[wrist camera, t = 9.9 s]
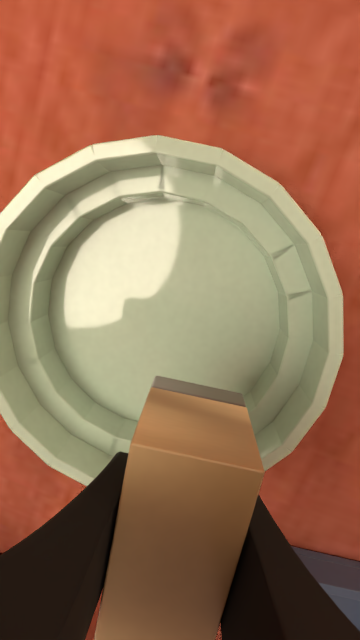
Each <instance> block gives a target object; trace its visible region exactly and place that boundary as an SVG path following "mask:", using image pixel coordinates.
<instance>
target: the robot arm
mask: <svg viewBox="0 0 360 640" xmlns="http://www.w3.org/2000/svg"><path fill="white" fill-rule="evenodd" d="M127 458H128V453H125V452H121V451H120V452H118V453H116V454H115V456H114V457H113V458H112V460H111V461H110V462H109V463H108V465H107V466H106V467H105V468H104V469H103V470H102V471H101V472H100V474H99V475H98V476H97V477H96V478H95V479H94V480H93V481H92V482H91V483H90V484H89V485H88V486H87V487H86V488H85V489H84V490H83V491H82V492H81V493H80V494H79V495H78V496H77V497H75V498H74V499H73V500H72V501H71V502H70V503H69V504H68V505H67V506H65V507H64V508H63V509H62V510H61V511H60V512H59V513H57V514H56V515H55V516H54V517H53V518H51V519H50V520H49V521H48V522H46V523H45V524H44V525H43V526H41V527H40V528H39V529H37V530H36V531H35V532H33V533H32V534H31V535H29V536H28V537H27V538H25V539H24V540H22V541H21V542H19V543H18V544H16V545H15V546H13V547H12V548H11V549H9V550H8V551H6V552H5V553H3V554H2V555H0V640H85V638H86V635H87V632H88V629H89V625H90V623H91V620H92V617H93V614H94V612H95V609H96V606H97V603H98V600H99V598H100V595H101V592H102V589H103V587H104V582H105V576H106V571H107V566H108V560H109V555H110V550H111V544H112V539H113V534H114V528H115V523H116V517H117V512H118V507H119V501H120V496H121V491H122V485H123V480H124V475H125V469H126V464H127ZM220 622H221V633H222V640H360V631H359V630H358V629H357V628H356V626H355V625H354V624H353V623H352V622H351V621H350V620H349V619H348V618H347V616H346V615H345V614H344V613H343V612H342V611H341V610H340V609H339V607H338V606H337V605H336V604H335V603H334V601H333V600H332V599H331V598H330V597H329V595H328V594H327V593H326V592H325V590H324V589H323V588H322V587H321V586H320V584H319V583H318V582H317V581H316V579H315V578H314V577H313V576H312V574H311V573H310V572H309V570H308V569H307V568H306V566H305V565H304V564H303V562H302V561H301V559H300V558H299V557H298V555H297V554H296V553H295V551H294V550H293V548H292V547H291V545H290V544H289V542H288V541H287V539H286V538H285V536H284V535H283V533H282V532H281V530H280V529H279V527H278V526H277V524H276V523H275V521H274V519H273V518H272V516H271V515H270V513H269V511H268V510H267V508H266V506H265V505H264V503H263V501H262V500H261V498H260V496H259V495H258V497H257V500H256V504H255V507H254V510H253V514H252V517H251V520H250V524H249V527H248V531H247V534H246V537H245V541H244V544H243V547H242V551H241V554H240V557H239V561H238V564H237V567H236V571H235V574H234V578H233V581H232V584H231V588H230V591H229V594H228V598H227V601H226V604H225V608H224V611H223V614H222V618H221V621H220Z"/></svg>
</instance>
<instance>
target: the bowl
mask: <svg viewBox="0 0 360 640" xmlns="http://www.w3.org/2000/svg"><path fill="white" fill-rule="evenodd" d="M343 353H344V346H343V292H342V289H341V286H340V284H339V281H338V278H337V275H336V272H335V270H334V267H333V264H332V261H331V258H330V256H329V253H328V250H327V247H326V244H325V242H324V239H323V236H322V235H321V233H320V232H319V230H318V229H317V228H316V227H315V225H314V224H313V223H312V222H311V220H310V219H309V218H308V217H307V216H306V214H305V213H304V212H303V211H302V209H301V208H300V207H299V206H298V204H297V203H296V202H295V201H294V200H293V198H292V197H291V196H290V195H289V193H288V192H287V191H286V190H285V189H284V187H283V186H282V185H280V184H279V182H277V181H275V180H274V179H272V178H271V177H269V176H267V175H266V174H264V173H262V172H261V171H259V170H257V169H256V168H254V167H252V166H251V165H249V164H248V163H246V162H244V161H243V160H241V159H239V158H238V157H236V156H234V155H233V154H231V153H229V152H228V151H226V150H224V149H222V148H219V147H214V146H209V145H204V144H200V143H195V142H190V141H185V140H180V139H175V138H171V137H166V136H161V135H157V136H156V135H152V136H145V137H138V138H131V139H124V140H117V141H110V142H103V143H96V144H92V145H89V146H87V147H85V148H84V149H82V150H80V151H78V152H76V153H74V154H72V155H70V156H69V157H67V158H65V159H63V160H61V161H59V162H57V163H56V164H54V165H52V166H50V167H48V168H46V169H44V170H42V171H41V172H39V173H37V174H36V175H34V176H33V177H32V178H31V179H30V181H29V182H28V183H27V184H26V185H25V186H24V187H23V188H22V189H21V191H20V192H19V193H18V194H17V195H16V196H15V197H14V198H13V200H12V201H11V202H10V203H9V204H8V205H7V206H6V207H5V208H4V210H3V211H2V212H1V213H0V413H1V415H2V417H3V419H4V420H5V422H6V424H7V425H8V427H9V429H11V431H12V432H13V433H14V434H15V435H16V436H17V437H18V438H19V439H20V440H22V441H23V442H24V443H25V444H26V445H27V446H28V447H29V448H30V449H31V450H32V451H33V452H34V453H35V454H36V455H37V456H39V457H40V458H41V459H42V460H43V461H44V462H45V463H46V464H47V465H48V466H49V465H50V467H51V468H53V469H55V470H57V471H59V472H61V473H63V474H64V475H66V476H68V477H70V478H72V479H74V480H76V481H78V482H80V483H81V484H83V485H85V486H88V485H89V484H90V483H91V482H92V481H93V480H94V479H95V478H96V477H97V476H98V475H99V474H100V472H101V471H102V470H103V469H104V468H105V467H106V466H107V465H108V463H109V462H110V461H111V460H112V458H113V457H114V456H115V454H116V453H118V452H120V451H121V452H125V453H129V448H130V443H131V440H132V437H133V435H134V432H135V429H136V426H137V424H138V421H139V418H140V415H141V412H142V410H143V407H144V404H145V401H146V398H147V396H148V393H149V390H150V388H151V385H152V382H153V380H154V377H155V376H162V377H167V378H171V379H176V380H181V381H185V382H190V383H195V384H199V385H204V386H209V387H214V388H218V389H223V390H228V391H232V392H237V393H241V394H243V398H244V401H245V405H246V408H247V410H248V414H249V418H250V421H251V425H252V428H253V432H254V436H255V439H256V443H257V446H258V450H259V454H260V457H261V461H262V464H263V468H264V472H265V471H266V470H268V469H269V468H270V467H272V466H273V465H275V464H276V463H278V462H279V461H280V460H282V459H283V458H285V457H286V456H287V455H289V454H290V453H291V452H292V451H293V450H294V449H295V448H296V446H297V445H298V444H299V442H300V441H301V440H302V438H303V437H304V436H305V435H306V433H307V432H308V431H309V429H310V428H311V427H312V425H313V424H314V423H315V421H316V420H317V419H318V417H319V416H320V415H321V413H322V412H323V411H324V409H325V408H326V405H327V402H328V399H329V396H330V393H331V390H332V387H333V384H334V382H335V379H336V376H337V373H338V370H339V367H340V364H341V361H342V358H343Z"/></svg>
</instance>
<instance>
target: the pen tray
mask: <svg viewBox="0 0 360 640" xmlns="http://www.w3.org/2000/svg"><path fill="white" fill-rule="evenodd" d="M291 547H292V546H291ZM292 548H293V550H294V551H295V553H296V554H297V555H298V557H299V558H300V559H301V561H302V562H303V564H304V565H305V566H306V568H307V569H308V570H309V572H310V573H311V574H312V576H313V577H314V578H315V579H316V581H317V582H318V583H319V584H320V586H321V587H322V588H323V589H324V590H325V592H326V593H327V594H328V595H329V597H330V598H331V599H332V600H333V601H334V603H335V604H336V605H337V606H338V607H339V609H340V610H341V611H342V612H343V613H344V614H345V615H346V616H347V618H348V619H349V620H350V621H351V622H352V623H353V624H354V625H355V626H356V628H357V629H358V630H359V631H360V562H358V561H354V560H350V559H345V558H341V557H336V556H332V555H328V554H323V553H319V552H314V551H310V550H306V549H301V548H297V547H292Z"/></svg>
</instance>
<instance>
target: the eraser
mask: <svg viewBox="0 0 360 640" xmlns="http://www.w3.org/2000/svg"><path fill="white" fill-rule="evenodd" d="M264 473H265V472H264V468H263V464H262V461H261V457H260V454H259V450H258V446H257V443H256V439H255V436H254V432H253V428H252V425H251V421H250V418H249V414H248V410H247V408H246V405H245V401H244V398H243V394H241V393H237V392H232V391H228V390H223V389H218V388H214V387H209V386H204V385H199V384H195V383H190V382H185V381H181V380H176V379H171V378H167V377H162V376H155V377H154V380H153V382H152V385H151V388H150V390H149V393H148V396H147V398H146V401H145V404H144V407H143V410H142V412H141V415H140V418H139V421H138V424H137V426H136V429H135V432H134V435H133V437H132V440H131V443H130V448H129V453H128V458H127V464H126V469H125V475H124V480H123V485H122V491H121V496H120V501H119V507H118V512H117V517H116V523H115V528H114V534H113V539H112V544H111V550H110V555H109V560H108V566H107V571H106V576H105V582H104V587H103V593H102V598H101V603H100V609H99V614H98V619H97V625H96V630H95V636H94V640H215V638H216V635H217V631H218V628H219V625H220V621H221V618H222V614H223V611H224V608H225V604H226V601H227V598H228V594H229V591H230V588H231V584H232V581H233V578H234V574H235V571H236V567H237V564H238V561H239V557H240V554H241V551H242V547H243V544H244V541H245V537H246V534H247V531H248V527H249V524H250V520H251V517H252V514H253V510H254V507H255V504H256V500H257V497H258V494H259V490H260V487H261V484H262V480H263V477H264Z"/></svg>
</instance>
